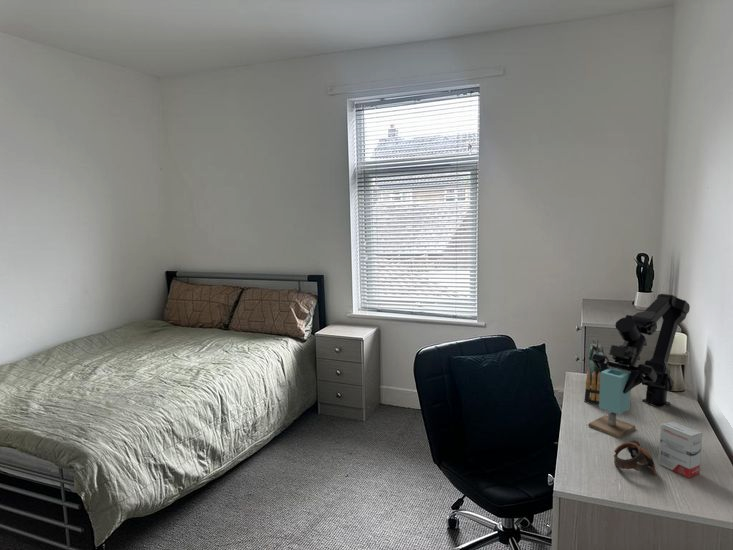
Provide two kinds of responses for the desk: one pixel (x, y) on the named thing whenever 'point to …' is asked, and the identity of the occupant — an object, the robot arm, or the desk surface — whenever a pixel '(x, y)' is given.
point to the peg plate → (610, 429)
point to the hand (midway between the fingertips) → (612, 389)
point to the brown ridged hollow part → (634, 457)
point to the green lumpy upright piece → (593, 350)
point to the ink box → (680, 449)
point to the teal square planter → (614, 391)
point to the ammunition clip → (592, 388)
